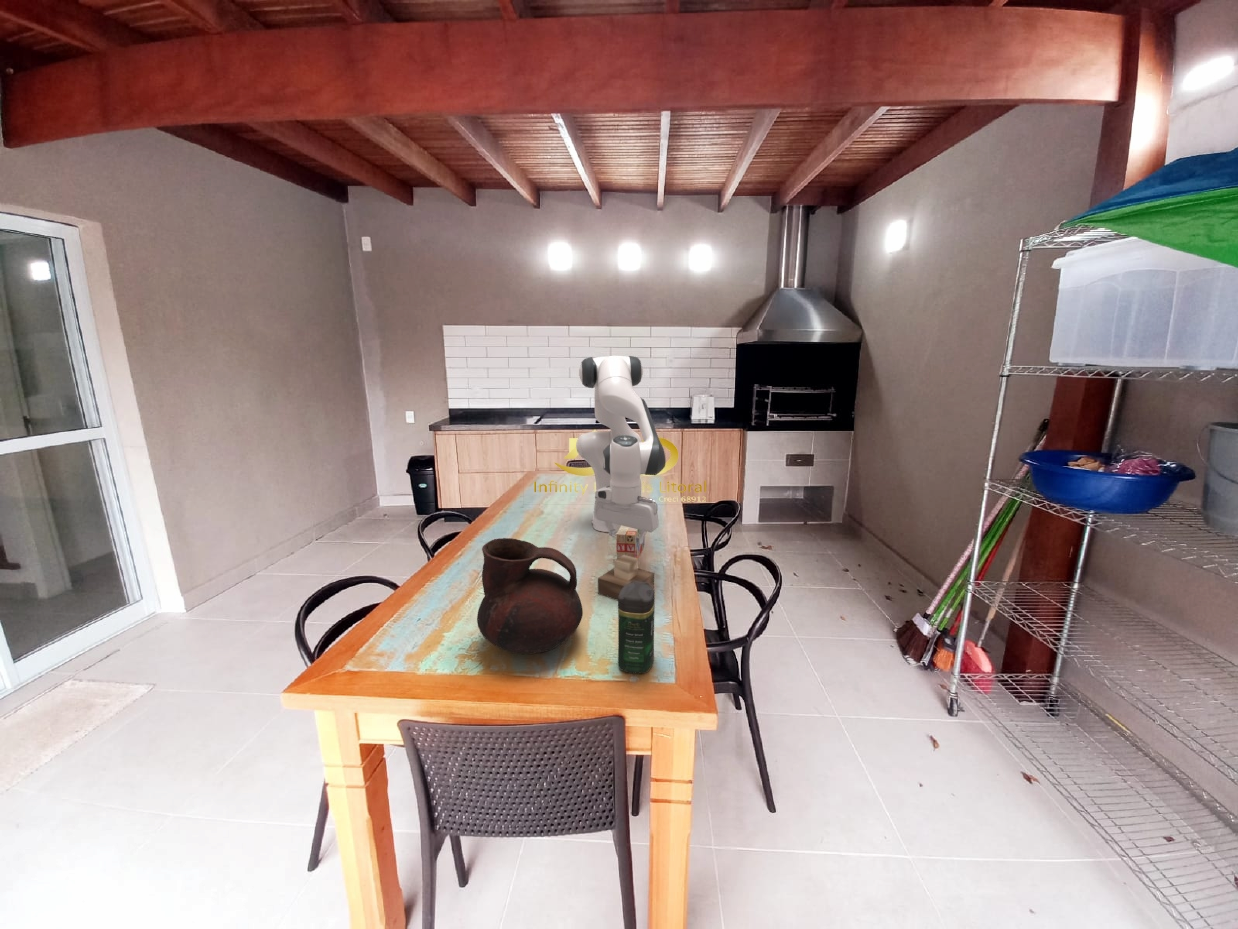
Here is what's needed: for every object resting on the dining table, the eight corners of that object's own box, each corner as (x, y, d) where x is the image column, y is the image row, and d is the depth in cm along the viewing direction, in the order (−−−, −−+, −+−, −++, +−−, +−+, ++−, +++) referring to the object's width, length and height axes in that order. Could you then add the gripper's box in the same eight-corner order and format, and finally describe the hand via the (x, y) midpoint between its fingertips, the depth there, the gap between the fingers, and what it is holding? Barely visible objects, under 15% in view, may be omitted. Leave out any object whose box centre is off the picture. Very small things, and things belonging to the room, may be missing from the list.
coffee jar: (650, 678, 106) (650, 600, 102) (615, 673, 108) (613, 596, 104) (657, 652, 115) (657, 579, 111) (624, 647, 117) (623, 576, 113)
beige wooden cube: (623, 570, 147) (623, 554, 146) (637, 574, 144) (637, 558, 143) (614, 576, 143) (614, 560, 142) (628, 580, 140) (628, 564, 139)
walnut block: (621, 578, 153) (621, 563, 152) (654, 588, 146) (654, 572, 145) (598, 593, 144) (597, 578, 142) (632, 605, 137) (632, 588, 136)
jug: (568, 678, 106) (563, 572, 101) (460, 666, 111) (451, 564, 105) (593, 618, 130) (591, 529, 125) (504, 610, 135) (498, 524, 129)
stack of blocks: (627, 544, 181) (627, 512, 178) (644, 545, 179) (644, 513, 177) (616, 568, 160) (616, 533, 157) (635, 570, 159) (635, 534, 156)
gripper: (663, 496, 135) (662, 543, 138) (603, 485, 146) (604, 528, 150) (651, 503, 130) (651, 551, 133) (590, 490, 141) (591, 535, 145)
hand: (625, 539), depth 142 cm, fingers open, 8 cm apart
